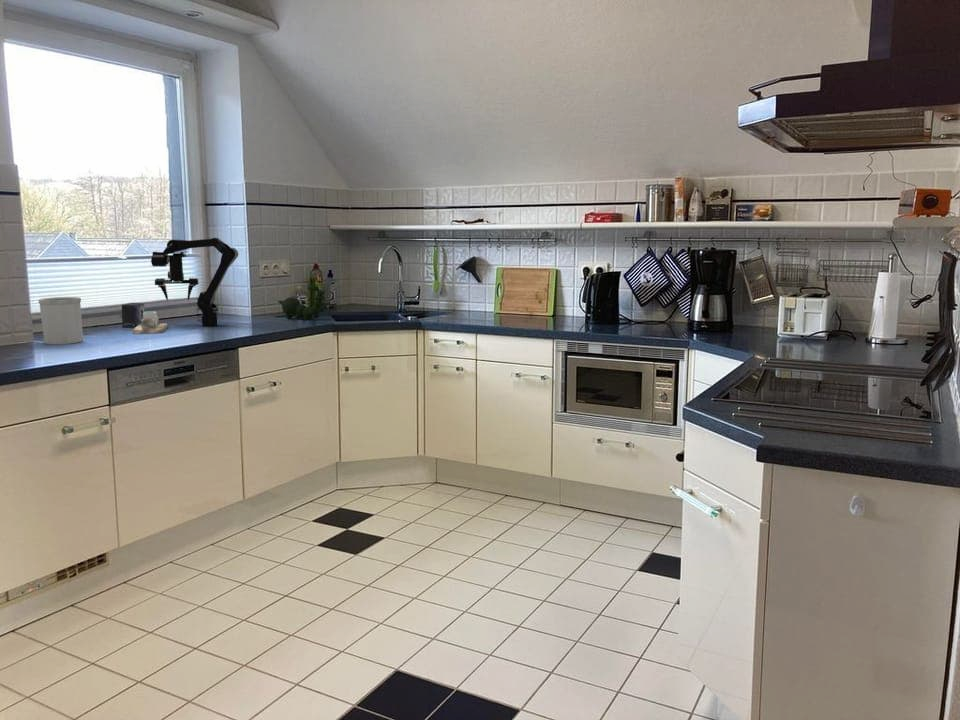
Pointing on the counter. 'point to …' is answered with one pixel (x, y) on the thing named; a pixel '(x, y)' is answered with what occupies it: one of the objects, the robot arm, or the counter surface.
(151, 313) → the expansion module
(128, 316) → the small box
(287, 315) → the toy figurine
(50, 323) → the utensil holder
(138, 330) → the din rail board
